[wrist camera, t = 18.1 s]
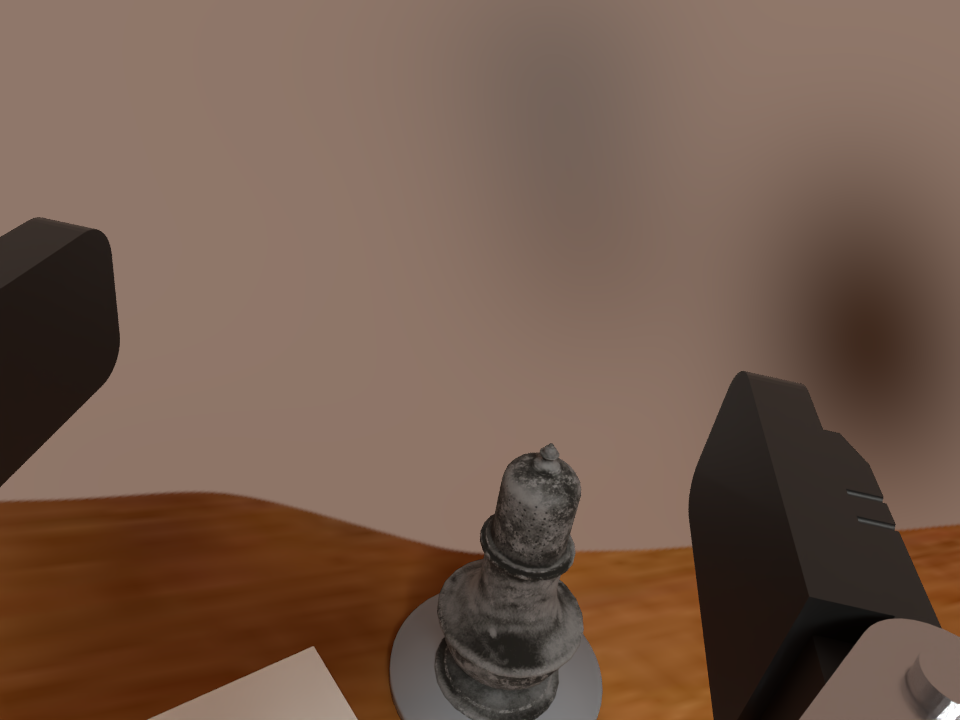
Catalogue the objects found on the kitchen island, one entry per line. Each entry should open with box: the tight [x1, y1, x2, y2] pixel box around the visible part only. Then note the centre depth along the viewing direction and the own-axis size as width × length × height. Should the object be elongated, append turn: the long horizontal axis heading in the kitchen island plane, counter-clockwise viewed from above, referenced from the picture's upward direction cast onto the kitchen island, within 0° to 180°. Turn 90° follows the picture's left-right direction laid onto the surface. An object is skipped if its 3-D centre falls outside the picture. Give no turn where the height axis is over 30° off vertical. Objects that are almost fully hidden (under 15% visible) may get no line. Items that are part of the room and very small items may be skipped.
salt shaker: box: [434, 443, 584, 720], centre depth 30 cm, size 6×6×12 cm
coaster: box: [389, 593, 602, 720], centre depth 33 cm, size 9×9×1 cm
